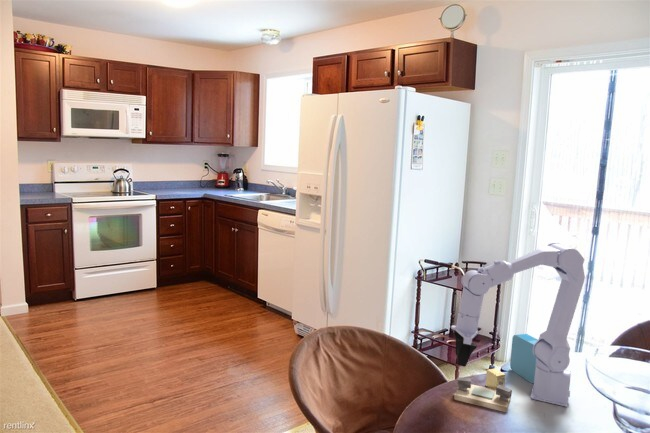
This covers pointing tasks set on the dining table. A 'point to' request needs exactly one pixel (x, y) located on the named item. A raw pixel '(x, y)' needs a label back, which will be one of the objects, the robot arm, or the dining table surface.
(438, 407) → the dining table surface
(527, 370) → the light blue flat block
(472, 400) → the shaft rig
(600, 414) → the dining table surface
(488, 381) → the coupler
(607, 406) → the dining table surface
